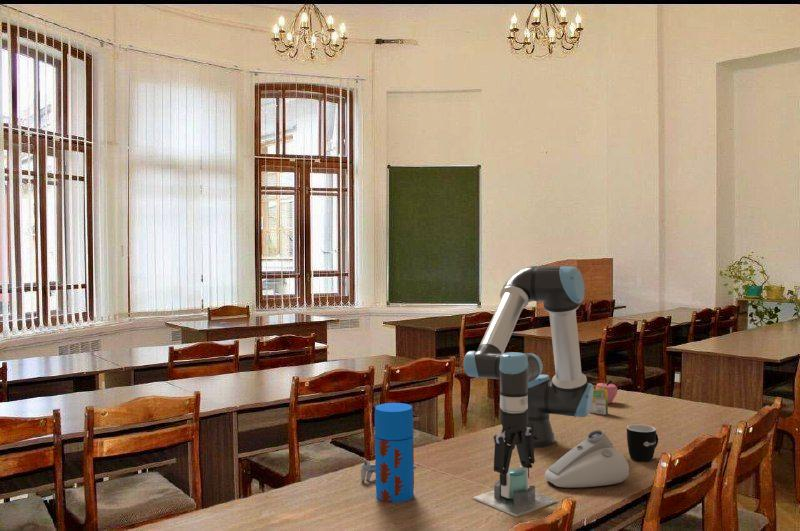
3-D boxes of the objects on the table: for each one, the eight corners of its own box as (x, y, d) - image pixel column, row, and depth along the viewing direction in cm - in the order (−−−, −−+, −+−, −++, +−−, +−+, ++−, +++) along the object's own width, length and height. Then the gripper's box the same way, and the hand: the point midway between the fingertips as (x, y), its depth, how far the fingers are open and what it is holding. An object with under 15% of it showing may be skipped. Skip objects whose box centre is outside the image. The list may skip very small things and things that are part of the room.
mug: (642, 465, 214) (642, 433, 213) (620, 457, 222) (620, 426, 221) (668, 458, 220) (668, 427, 219) (646, 451, 227) (646, 421, 227)
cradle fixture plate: (473, 499, 188) (473, 484, 188) (513, 485, 197) (513, 471, 197) (516, 517, 175) (516, 501, 175) (556, 501, 185) (556, 487, 185)
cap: (497, 493, 187) (497, 471, 187) (514, 488, 191) (513, 466, 191) (515, 500, 182) (515, 477, 181) (531, 495, 186) (531, 472, 185)
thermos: (392, 485, 199) (391, 400, 198) (421, 494, 192) (420, 406, 191) (367, 496, 190) (366, 408, 190) (397, 505, 184) (396, 414, 183)
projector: (557, 464, 216) (557, 418, 216) (633, 473, 206) (632, 426, 206) (541, 487, 196) (540, 437, 196) (623, 499, 186) (623, 446, 186)
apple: (604, 399, 302) (604, 377, 302) (621, 403, 295) (621, 380, 295) (591, 403, 296) (591, 380, 295) (609, 406, 289) (609, 383, 289)
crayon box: (608, 413, 278) (607, 385, 278) (606, 415, 276) (605, 386, 275) (590, 411, 282) (590, 383, 282) (588, 412, 279) (588, 384, 279)
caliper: (363, 483, 202) (362, 462, 202) (361, 482, 203) (360, 461, 203) (416, 468, 215) (415, 448, 214) (413, 467, 215) (413, 448, 215)
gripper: (499, 418, 176) (499, 506, 177) (548, 406, 188) (548, 489, 189) (478, 413, 182) (479, 498, 183) (527, 402, 194) (528, 481, 195)
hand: (514, 493), depth 186 cm, fingers closed on cap, 6 cm apart
